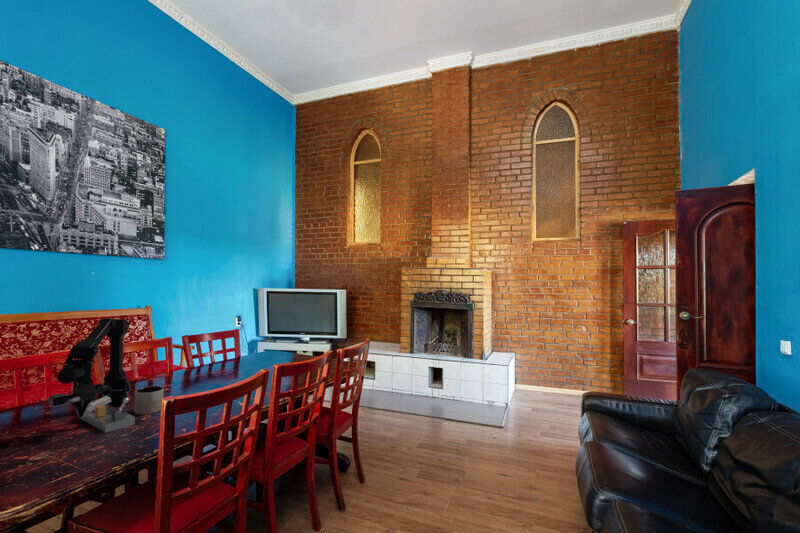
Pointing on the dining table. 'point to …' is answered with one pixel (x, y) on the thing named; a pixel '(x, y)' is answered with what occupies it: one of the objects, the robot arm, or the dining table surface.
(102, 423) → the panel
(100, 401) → the rocker
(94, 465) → the dining table surface
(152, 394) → the planter
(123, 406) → the toggle
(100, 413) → the slider
